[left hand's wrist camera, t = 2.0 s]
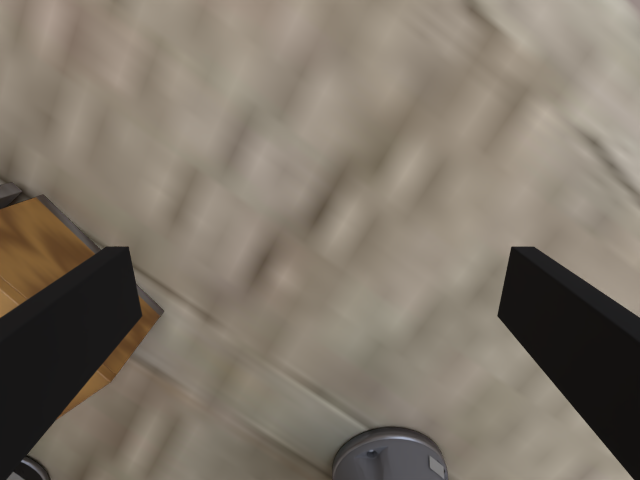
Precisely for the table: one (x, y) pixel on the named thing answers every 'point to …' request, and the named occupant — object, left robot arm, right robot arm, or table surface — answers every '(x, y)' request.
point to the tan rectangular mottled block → (56, 273)
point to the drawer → (8, 194)
